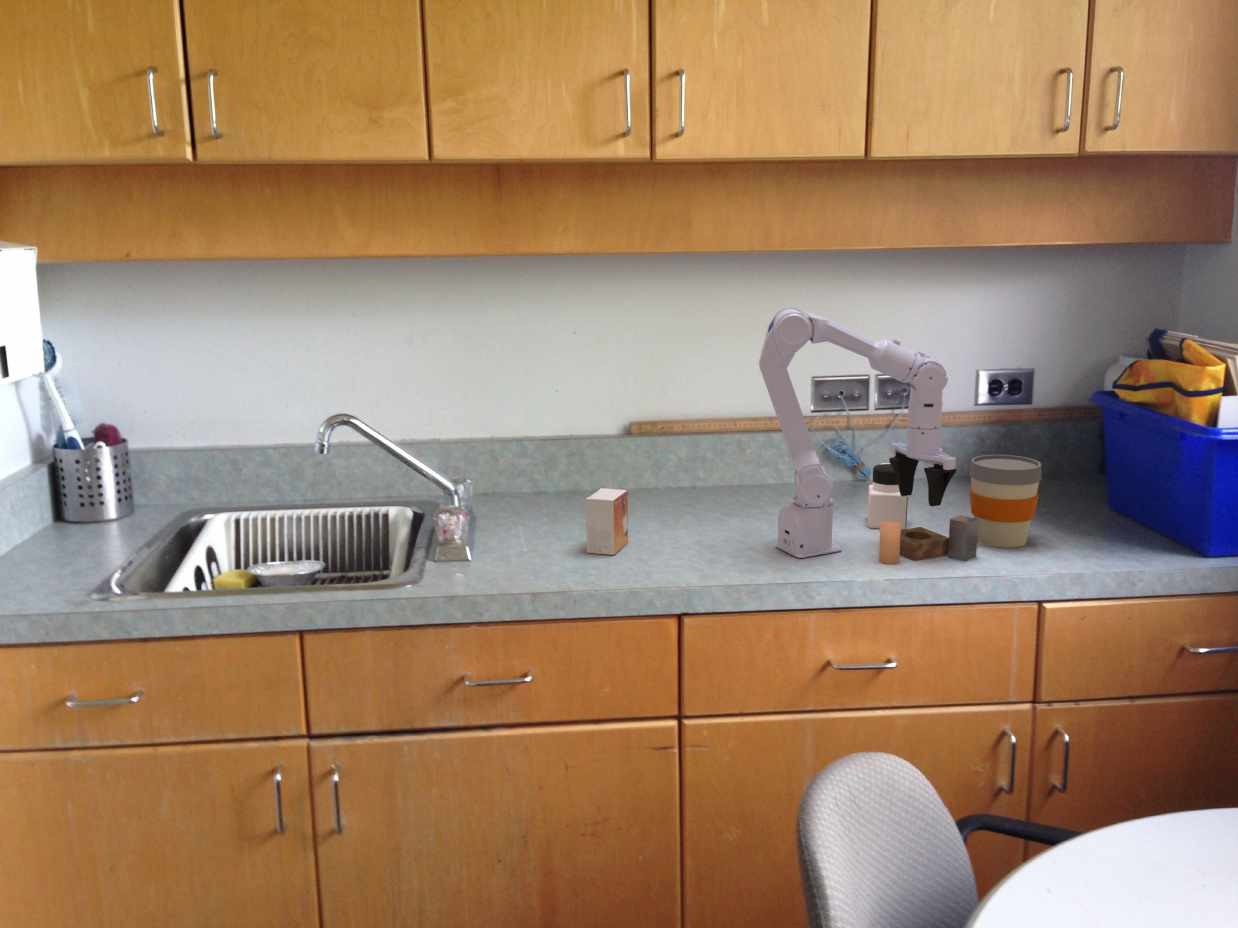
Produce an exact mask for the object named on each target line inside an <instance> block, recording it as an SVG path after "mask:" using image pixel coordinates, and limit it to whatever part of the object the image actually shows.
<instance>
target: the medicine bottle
mask: <svg viewBox="0 0 1238 928" xmlns="http://www.w3.org/2000/svg"><path fill="white" fill-rule="evenodd" d="M867 496H868V499H867V525H868V528H869V529H879V530H880V522H882V521H886V520H892V521H897V522H900V523H901V530H904V529H907V522H908V521H907V519H908V518H907V517H908V503H909V502H908V500H909V495H908V496H901V495H900V491H899V486H898V482H897V478H896V475H895V472H894V470H893V468H892V466H891V464H890V462H888V463H887V462H885V463H883V462H882V463H878V464H876V465H875V466H873V468H872V484H869V485H868V495H867Z"/></svg>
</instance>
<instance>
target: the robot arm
mask: <svg viewBox="0 0 1238 928" xmlns="http://www.w3.org/2000/svg"><path fill="white" fill-rule="evenodd" d="M805 313H806V315H805ZM805 313H804V312H803V310H800V308H799V309H798V308H796V307H791V306H790V307H784V308H782V309H780V310H779V311H777V312H776V313H775V315H774V317H773V318H772V319H771V321H770V323H769V324H768V325H767V328H766V333H765V337H764V341H763V345H762V348H761V351H760V356H759V360H758V366H759V370H760V372H761V376H762V378H763V381H764V383H765V387H766V389H767V393H768V395H769V398H770V400H771V403H772V407H773V409H774V412H775V415H776V417H777V421H778V423H779V426H780V429H781V432H782V434H783V437H784V440H785V443H786V446H787V448H788V451H789V454H790V458H791V459H792V460H791V461H792V462H793V465H794V469H795V470H794V475H793V476H794V477H793V478H794V479H793V480H794V484H795V486H796V488H797V492H796V493H795V495H794V496H792V502H791V503H790V504H788V505H784V506H782V508H781V509H780V510H779V513H778V518H777V521H778V523H777V543H775V547H776V548H778V549H779V550H782V551H783V552H786V553H787V554H789V555H792V556H793V557H796V558H798V559H804V558H810V557H814V556H820V555H825V554H831V553H836V552H841V551H842V550H843V548H842V547H840V546H838V545H836V544H833V519H834V518H833V517H834V499H833V498H832V497H833V495H834V491H835V488H834V487H835V486H834V482H833V481H832V480H833V479H831V478H830V475H829V472H828V469H827V468H826V466H825V465H824V464H823V463H822V462H820V459H819V456H818V454H817V451H816V448H815V446H814V443H813V440H812V436H811V434H810V432H809V428H808V426H807V423H806V420H805V417H804V415H803V411H802V409H801V406H800V403H799V400H798V398H797V394H796V392H795V387H794V385H793V382H792V380H791V376H790V374H789V372H788V367H789V365H790V363H791V362H792V360H793V358H794V356H795V355H796V353H797V352H799V351H800V350H801V349H802V348H803V347H804V346H805V345H806V344H807V343H808V342H809V341H810V343H812V344H814V345H815V344H819V343H825V342H826V343H827V342H828V343H831V344H833V345H835V346H838V347H840V348H842V349H844V350H846V351H850V352H853V353H855V354H857V355H860V356H862V357H865V358H867V360H868V363H869V365H870V368H871V369H872V370H875V371H877V372H878V373H881V374H883V375H885V376H887V377H890V378H892V379H894V380H897V381H899V382H900V383H902V384H903V383H904V384H905V383H906V384H907V383H908V384H909V385H910V391H909V399H908V412H907V428H906V429H907V430H906V443H904V442H894V443H891V449H890V451H891V455H894V457H889V459H888V463H890V464H891V466H892V468H893V470H894V472H895V475H896V478H897V482H898V486H899V491H900V495H901V496H908V497H909V496H912V493H913V491H914V483H915V475H916V471H917V468H918V464H919V462H923V463H925V464H926V463H927V464H930V465H932V466H929V467H928V466H927V467H924V468H923V469H924V473H925V477H926V481H927V487H928V489H927V490H928V492H927V493H928V495H927V497H928V498H927V501H928V506H930V507H932V508H933V507H938V506H941V505H942V504H941V503H942V501H943V498H944V495H945V492H946V491H947V490H946V489H947V487H948V486H949V483H950V481H951V480H952V478H953V477H954V476H955V474H956V473H957V468H956V467H957V466H956V465H957V464H956V463H957V458H956V457H954V456H952V455H949V454H947V453H946V452H944V449H943V448H941V437H942V435H941V431H942V418H943V417H942V416H943V390H944V389H945V387H947V385H948V381H949V377H948V376H947V371H946V369H945V367H944V366H943V365H942V364H941V363H939V362H938V361H937V360H934V359H933V358H931V356H928V355H926V353H925V352H923V351H921V350H919V351H918V352H917V351H914V350H913V349H910V348H908V347H906V346H903V345H902V344H901V343H902V341H900V340H899V339H897V338H895V337H894V338H892V339H891V340H890V339H888V338H884V339H880V340H878V341H874V340H872V339H870V338H868V337H866V336H863V335H861V334H860V333H858V332H855V331H853V330H852V329H850V328H847V327H845V326H844V325H841V324H839V323H838V322H835V321H833V320H831V319H829V318H828V317H827V318H826V317H824V316H821V315H818V314H816V313H812V312H809V311H805Z"/></svg>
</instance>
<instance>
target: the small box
mask: <svg viewBox="0 0 1238 928" xmlns="http://www.w3.org/2000/svg"><path fill="white" fill-rule="evenodd" d="M628 494H629V493H628V490H626V489H616V488H604V487H601V488H599V489H598V490H596V491H595V492H594V493H592V494H591V495H590V496H588V497H586V498H585V529H586V530H585V531H586V534H585V535H586V553H587V554H599V555H608V556H609V555H610V556H615V555H616V554H617V553H618V552H619V551H620V550H621V549H623V548H624V547H626V546H627V545H628V544H629V503H628V502H629V500H628V499H629V498H628V496H629V495H628Z"/></svg>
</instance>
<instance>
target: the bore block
mask: <svg viewBox="0 0 1238 928" xmlns="http://www.w3.org/2000/svg"><path fill="white" fill-rule="evenodd" d="M948 543H949V536H946V535H943V534H942V533H941V534H940V533H938V532H935V531H932V530H930V529H928V528H926V527H925V528H924V527H922V526H915V527H910V528H906V529H904V530H901V534H900V555H899V556H902V557H904V558H906V559H909V560H912V561H914V562H915V561H921V560H928V559H931V558H936V557H941V556H948Z"/></svg>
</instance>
